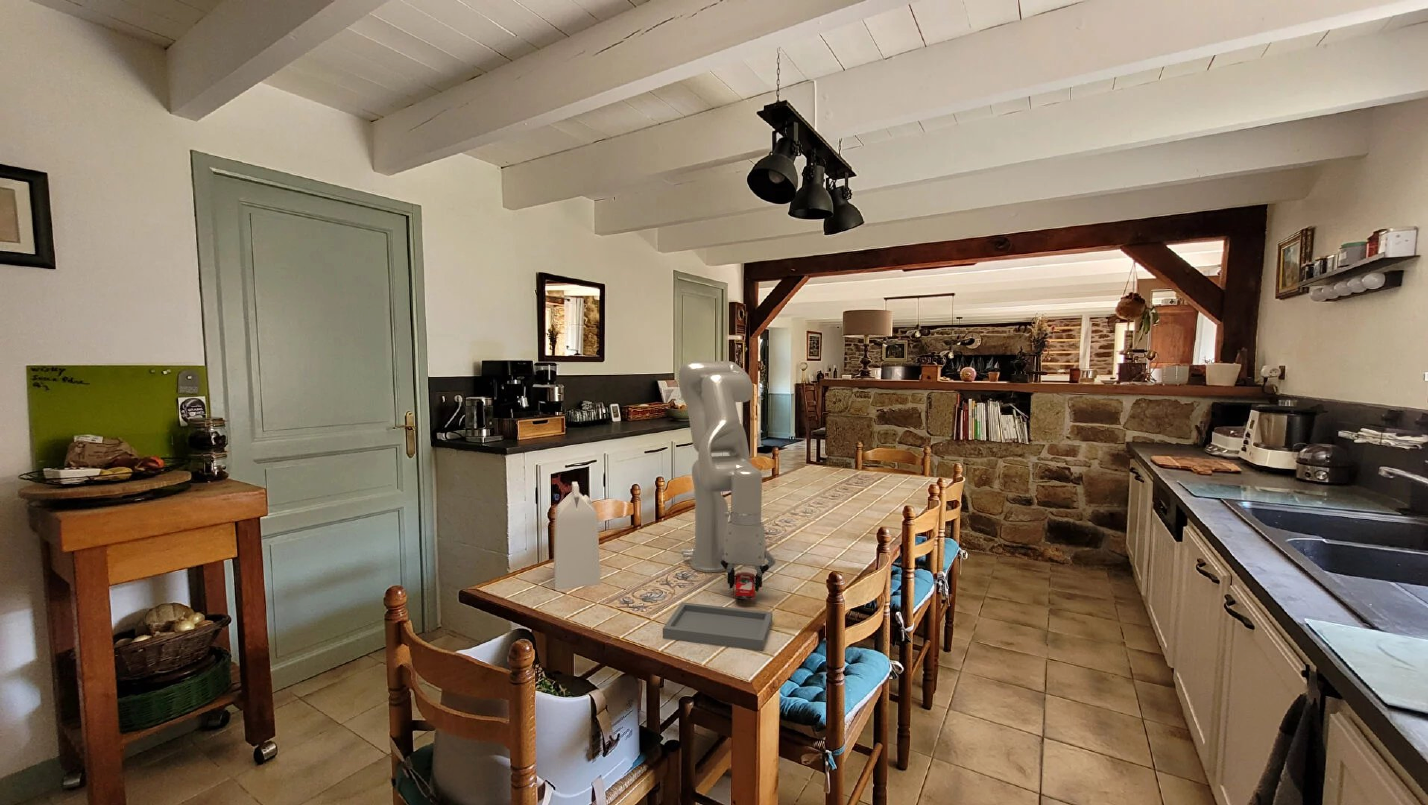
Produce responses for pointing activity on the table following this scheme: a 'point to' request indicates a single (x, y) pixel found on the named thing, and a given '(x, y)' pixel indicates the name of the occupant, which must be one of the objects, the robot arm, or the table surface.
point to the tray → (719, 626)
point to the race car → (744, 586)
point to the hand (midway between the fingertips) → (744, 587)
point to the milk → (576, 542)
